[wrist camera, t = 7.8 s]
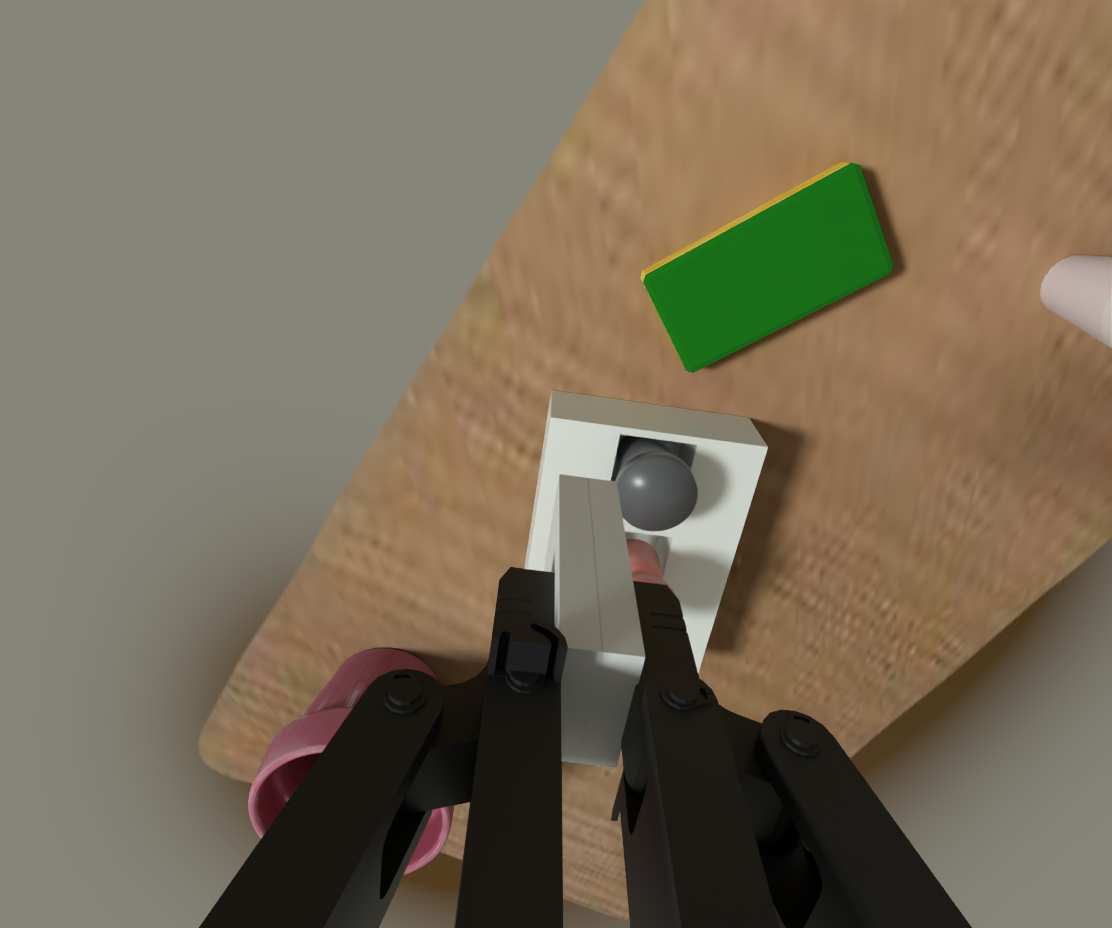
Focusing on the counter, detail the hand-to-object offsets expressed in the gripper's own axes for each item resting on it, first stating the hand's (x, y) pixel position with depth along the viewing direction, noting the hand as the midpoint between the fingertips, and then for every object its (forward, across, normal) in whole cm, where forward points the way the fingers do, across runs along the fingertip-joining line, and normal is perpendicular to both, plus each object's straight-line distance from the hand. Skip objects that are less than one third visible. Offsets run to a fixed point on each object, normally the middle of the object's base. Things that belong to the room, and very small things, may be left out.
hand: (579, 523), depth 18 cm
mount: (+29, +7, -17) cm, 35 cm away
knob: (+27, +7, -10) cm, 30 cm away
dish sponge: (+30, +12, +3) cm, 33 cm away
